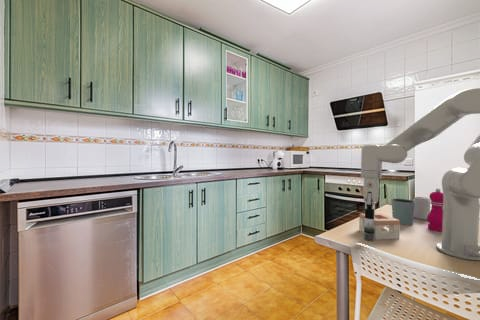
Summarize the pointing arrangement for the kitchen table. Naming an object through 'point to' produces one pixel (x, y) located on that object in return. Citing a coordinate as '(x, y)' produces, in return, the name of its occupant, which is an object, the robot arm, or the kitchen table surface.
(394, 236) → the collar stand
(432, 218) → the pepper mill
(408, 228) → the kitchen table surface
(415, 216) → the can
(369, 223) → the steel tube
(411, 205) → the grey teal tapered bin
